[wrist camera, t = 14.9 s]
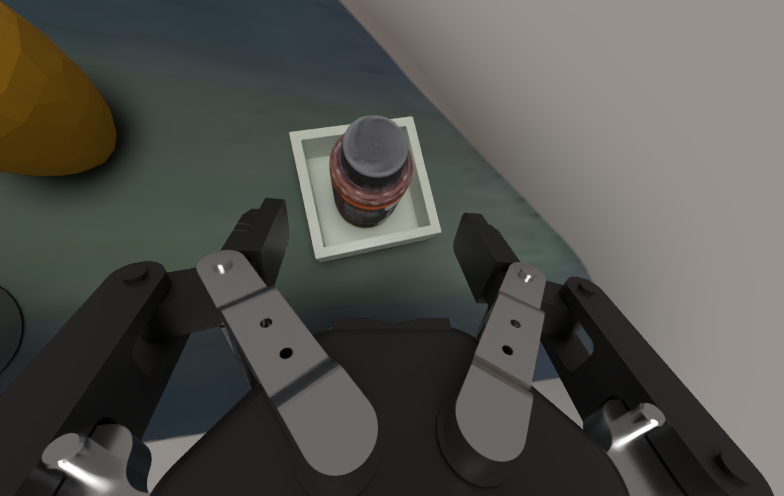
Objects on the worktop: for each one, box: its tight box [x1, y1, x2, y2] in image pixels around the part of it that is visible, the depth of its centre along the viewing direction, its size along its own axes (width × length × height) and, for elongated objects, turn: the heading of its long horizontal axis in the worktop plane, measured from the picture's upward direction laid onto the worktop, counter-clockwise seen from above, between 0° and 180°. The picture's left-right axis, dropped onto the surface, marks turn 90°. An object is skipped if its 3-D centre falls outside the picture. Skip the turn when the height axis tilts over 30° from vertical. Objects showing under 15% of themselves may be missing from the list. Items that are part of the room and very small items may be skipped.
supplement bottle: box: [329, 115, 413, 228], centre depth 22 cm, size 6×6×11 cm
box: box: [289, 117, 441, 263], centre depth 26 cm, size 11×11×4 cm
